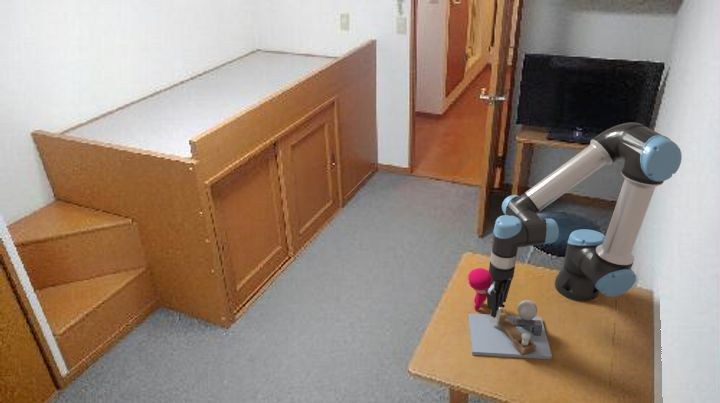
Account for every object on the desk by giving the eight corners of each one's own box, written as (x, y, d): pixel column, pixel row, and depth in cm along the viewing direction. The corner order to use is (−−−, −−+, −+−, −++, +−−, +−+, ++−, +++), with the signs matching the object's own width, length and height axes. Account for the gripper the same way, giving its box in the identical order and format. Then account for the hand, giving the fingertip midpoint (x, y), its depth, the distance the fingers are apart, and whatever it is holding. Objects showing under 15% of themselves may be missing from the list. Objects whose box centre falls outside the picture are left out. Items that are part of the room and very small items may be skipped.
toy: (491, 314, 186) (496, 279, 178) (467, 314, 186) (470, 279, 179) (487, 299, 193) (491, 264, 186) (463, 299, 193) (466, 264, 186)
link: (535, 351, 168) (536, 342, 167) (522, 355, 167) (523, 346, 165) (501, 315, 183) (503, 307, 181) (489, 319, 181) (490, 311, 180)
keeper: (538, 333, 177) (541, 320, 174) (540, 338, 175) (542, 325, 172) (511, 332, 178) (513, 319, 175) (512, 337, 176) (514, 324, 173)
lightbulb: (534, 336, 175) (538, 309, 170) (514, 333, 177) (518, 306, 172) (534, 325, 181) (538, 298, 176) (515, 321, 182) (519, 295, 177)
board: (540, 319, 183) (543, 304, 180) (551, 359, 167) (554, 343, 164) (468, 316, 185) (469, 300, 182) (472, 354, 170) (473, 338, 166)
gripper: (503, 249, 173) (495, 308, 185) (480, 267, 165) (473, 326, 177) (524, 259, 169) (514, 318, 180) (502, 277, 161) (493, 337, 172)
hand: (494, 322), depth 178 cm, fingers closed
